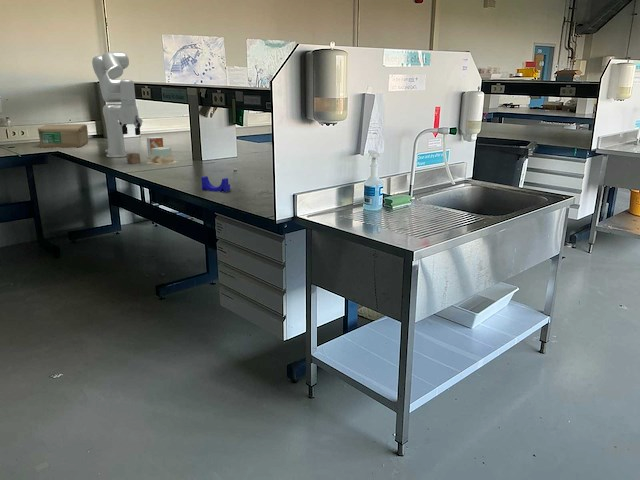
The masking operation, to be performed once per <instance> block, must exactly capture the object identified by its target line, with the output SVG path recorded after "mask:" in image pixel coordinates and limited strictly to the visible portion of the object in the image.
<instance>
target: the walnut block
mask: <svg viewBox="0 0 640 480" xmlns="http://www.w3.org/2000/svg"><path fill="white" fill-rule="evenodd" d="M126 162H127V164H129V165H137V164H141V155H140V153H136V152H131V153H127V156H126Z"/></svg>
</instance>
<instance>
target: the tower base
mask: <svg viewBox="0 0 640 480" xmlns="http://www.w3.org/2000/svg"><path fill="white" fill-rule="evenodd" d="M149 159H150V162H151V163H159V164H165V163H170V162H174V161H175V160H174V154H172V155H169V156H164V157H160V156H152V155H151V156H150V158H149Z"/></svg>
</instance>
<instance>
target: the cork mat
mask: <svg viewBox="0 0 640 480" xmlns="http://www.w3.org/2000/svg"><path fill="white" fill-rule="evenodd" d="M173 161H174V162H170V163H165V164H159V163H151V161H146V162H145V164H152V165H160V166H164V165H169V164H175V163H179V162H180V161H177V160H173Z"/></svg>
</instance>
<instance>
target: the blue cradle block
mask: <svg viewBox="0 0 640 480" xmlns="http://www.w3.org/2000/svg"><path fill="white" fill-rule="evenodd" d="M200 181H201V190H202V191H207V190H209V191H210V192H217V191H220V192H219V193H227V192H226V191H228V192H230V191H231V184H230V183H229V178H228V177H224V178H222V179H221V182H220V185H219V186H215V185H213V184H212V183H211V182H210V180H209V176H202V177H201V180H200ZM229 190H230V191H229ZM209 191H208V192H209ZM222 191H224V192H222Z"/></svg>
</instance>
